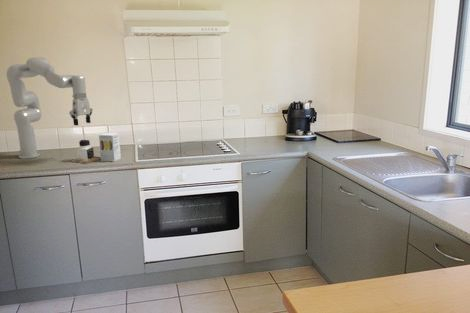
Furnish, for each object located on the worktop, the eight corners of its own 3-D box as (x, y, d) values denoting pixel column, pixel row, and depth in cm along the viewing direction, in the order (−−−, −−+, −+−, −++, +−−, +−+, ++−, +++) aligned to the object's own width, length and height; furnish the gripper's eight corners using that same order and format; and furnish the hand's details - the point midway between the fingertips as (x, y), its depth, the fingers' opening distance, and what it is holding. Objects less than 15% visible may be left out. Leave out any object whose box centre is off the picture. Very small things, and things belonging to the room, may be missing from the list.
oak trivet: (72, 161, 258) (72, 159, 258) (87, 157, 268) (86, 155, 268) (86, 163, 252) (85, 161, 252) (100, 159, 263) (100, 157, 262)
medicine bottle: (88, 160, 256) (86, 141, 253) (77, 159, 258) (75, 141, 255) (94, 157, 263) (92, 139, 260) (84, 157, 264) (82, 138, 261)
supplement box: (100, 161, 258) (98, 134, 254) (107, 157, 267) (105, 132, 263) (115, 161, 256) (112, 135, 252) (121, 158, 265) (119, 132, 261)
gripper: (72, 97, 242) (75, 126, 246) (95, 95, 257) (97, 122, 261) (63, 97, 245) (66, 125, 249) (86, 94, 260) (88, 121, 264)
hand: (82, 124), depth 255 cm, fingers open, 9 cm apart
